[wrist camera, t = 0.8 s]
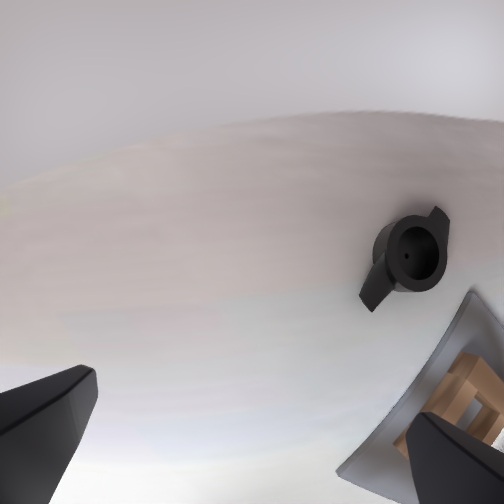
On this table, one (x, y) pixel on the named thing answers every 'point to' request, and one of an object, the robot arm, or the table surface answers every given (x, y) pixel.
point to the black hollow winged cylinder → (407, 257)
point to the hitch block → (439, 402)
